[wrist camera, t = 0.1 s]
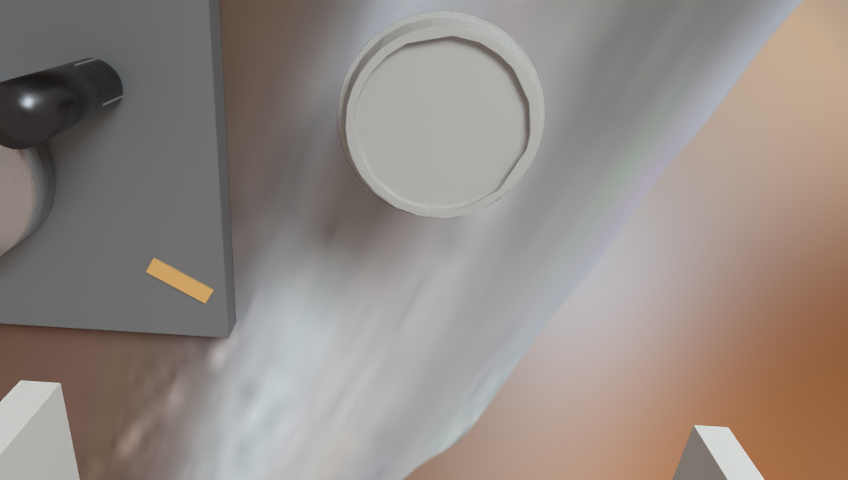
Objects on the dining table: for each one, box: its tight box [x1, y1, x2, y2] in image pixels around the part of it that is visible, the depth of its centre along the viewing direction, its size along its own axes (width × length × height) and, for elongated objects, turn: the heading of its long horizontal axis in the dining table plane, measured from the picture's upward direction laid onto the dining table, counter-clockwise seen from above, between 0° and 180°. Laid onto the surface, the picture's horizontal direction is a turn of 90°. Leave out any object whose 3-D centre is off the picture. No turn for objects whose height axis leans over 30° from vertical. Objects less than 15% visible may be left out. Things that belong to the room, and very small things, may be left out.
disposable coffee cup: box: [337, 11, 545, 218], centre depth 31 cm, size 10×10×12 cm
